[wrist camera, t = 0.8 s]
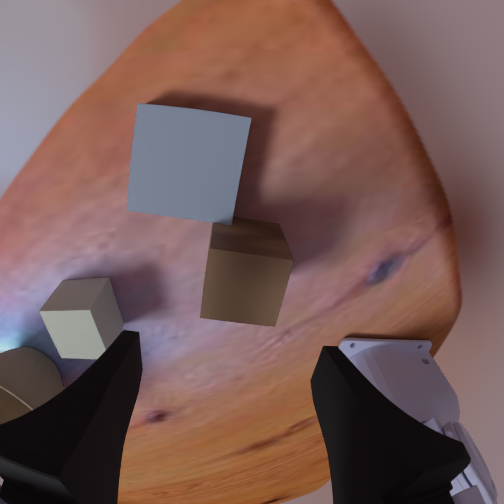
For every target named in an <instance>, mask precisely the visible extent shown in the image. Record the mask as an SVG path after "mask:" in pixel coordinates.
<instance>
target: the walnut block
mask: <svg viewBox="0 0 504 504" xmlns="http://www.w3.org/2000/svg"><path fill="white" fill-rule="evenodd" d="M293 262H294V260H293V257H292V255H291V252H290V250H289V247H288V245H287V242H286V240H285V237H284V235H283V232H282V230H281V227H280V225H279V224H275V223H269V222H263V221H257V220H251V219H244V218H238V217H233V219H232V224H231V225H225V224H218V223H213V225H212V231H211V238H210V244H209V251H208V258H207V264H206V271H205V279H204V288H203V296H202V305H201V314H200V318H206V319H213V320H221V321H229V322H237V323H246V324H254V325H264V326H273V327H275V325H276V322H277V318H278V315H279V312H280V308H281V305H282V301H283V298H284V294H285V291H286V287H287V284H288V280H289V277H290V273H291V269H292V266H293Z"/></svg>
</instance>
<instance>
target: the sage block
mask: <svg viewBox="0 0 504 504" xmlns="http://www.w3.org/2000/svg"><path fill="white" fill-rule="evenodd" d="M39 312H40V314H41V316H42V319H43V321H44V323H45V325H46V328H47V330H48V332H49V334H50V336H51V338H52V340H53V342H54V344H55V346H56V348H57V350H58V352H59V354H60V356H61V358H73V359H98V358H99V357H100V356H101V355H102V354H103V353H104V352H105V350H106V349H107V348H108V347H109V346H110V345H111V344H112V343H113V341H114V340H115V339H116V338H117V337H118V336H119V334H120V332H121V330H122V327H123V325H124V322H123V319H122V316H121V313H120V310H119V307H118V304H117V301H116V298H115V295H114V292H113V288H112V285H111V282H110V278H109V277H105V278H92V279H78V280H65V281H62V282H61V283H60V284H59V286H58V287H57V288H56V289H55V291H54V292H53V293H52V295H51V296H50V297H49V299H48V300H47V301H46V303H45V304H44V305H43V307H42V308H41V309H40V311H39Z"/></svg>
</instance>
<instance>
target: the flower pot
mask: <svg viewBox="0 0 504 504" xmlns="http://www.w3.org/2000/svg"><path fill="white" fill-rule="evenodd" d="M62 391H63V384H62V380H61V375H60V372H59V370H58V368H57V366H56V365H55V364H54V362H53V361H52V360H51V359H50V358H49V357H48V356H46V355H45V354H44V353H42V352H41V351H39V350H37V349H34V348H31V347H20V348H15V349H11V350H8V351H5V352H3V353H0V424H3V423H5V422H8V421H10V420H13V419H15V418H18V417H20V416H22V415H24V414H26V413H28V412H30V411H32V410H34V409H35V408H37V407H39V406H41V405H42V404H44V403H46V402H47V401H49V400H50V399H52V398H53V397H54V396H56V395H57V394H59V393H60V392H62Z"/></svg>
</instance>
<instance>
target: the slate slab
mask: <svg viewBox="0 0 504 504" xmlns="http://www.w3.org/2000/svg"><path fill="white" fill-rule="evenodd" d="M251 119H252V118H250V117H245V116H240V115H234V114H228V113H221V112H214V111H208V110H200V109H193V108H184V107H176V106H166V105H156V104H138V107H137V114H136V121H135V128H134V136H133V144H132V153H131V163H130V174H129V185H128V199H127V211H134V212H141V213H149V214H156V215H163V216H170V217H177V218H184V219H191V220H198V221H205V222H212V223H218V224H225V225H231V224H232V219H233V213H234V208H235V202H236V197H237V191H238V186H239V181H240V175H241V170H242V165H243V160H244V154H245V149H246V144H247V139H248V134H249V129H250V124H251Z"/></svg>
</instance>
